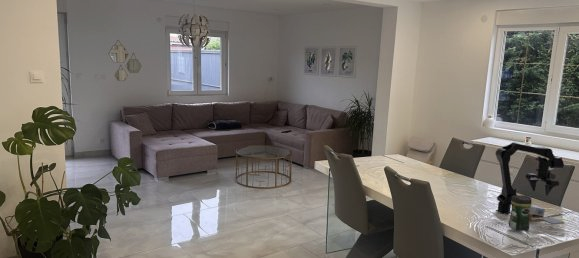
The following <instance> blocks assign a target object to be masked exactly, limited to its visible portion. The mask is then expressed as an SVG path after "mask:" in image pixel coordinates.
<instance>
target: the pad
mask: <svg viewBox="0 0 579 258" xmlns="http://www.w3.org/2000/svg"><path fill="white" fill-rule="evenodd" d="M542 218H543V222H547V223H549V224H551V225H555V224H557V225H558V224H565V221H562V220H559V219H557V218H555V217H542Z"/></svg>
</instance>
